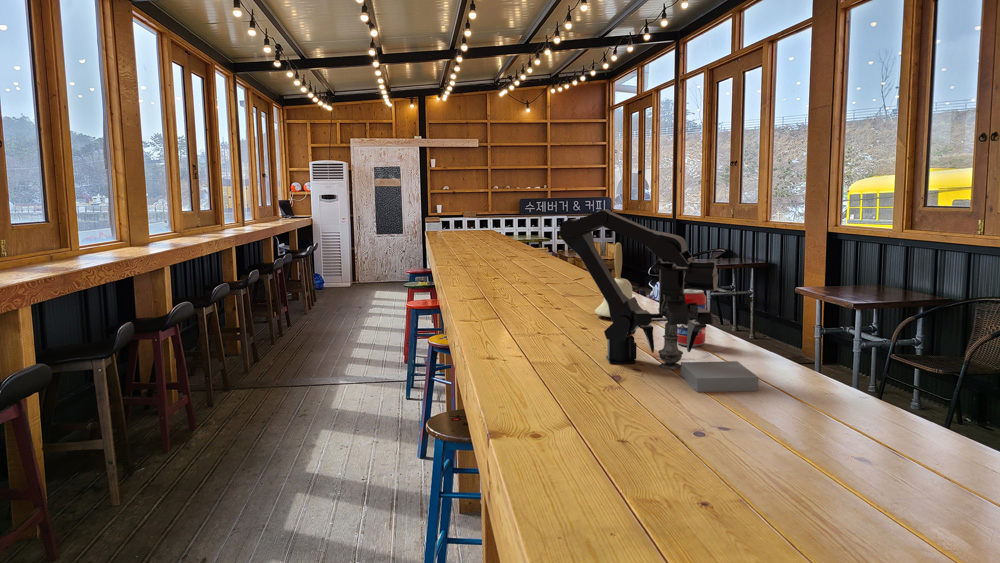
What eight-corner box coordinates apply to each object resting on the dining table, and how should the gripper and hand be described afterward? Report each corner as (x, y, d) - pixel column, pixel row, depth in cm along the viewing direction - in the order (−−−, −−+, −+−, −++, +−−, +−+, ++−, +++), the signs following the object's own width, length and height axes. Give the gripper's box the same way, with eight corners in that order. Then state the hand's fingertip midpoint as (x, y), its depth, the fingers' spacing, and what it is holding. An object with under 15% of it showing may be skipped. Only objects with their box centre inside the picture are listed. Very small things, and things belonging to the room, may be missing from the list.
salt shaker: (683, 370, 159) (684, 320, 158) (658, 369, 160) (658, 320, 159) (682, 363, 165) (683, 315, 163) (657, 362, 166) (658, 315, 164)
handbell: (648, 315, 226) (648, 241, 223) (631, 323, 214) (632, 245, 210) (605, 311, 235) (605, 240, 231) (587, 319, 222) (587, 243, 218)
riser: (696, 391, 142) (697, 378, 142) (680, 374, 155) (680, 362, 155) (758, 390, 142) (758, 377, 142) (736, 373, 155) (737, 361, 155)
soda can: (702, 341, 188) (703, 288, 186) (707, 347, 180) (709, 292, 178) (673, 341, 189) (674, 288, 187) (678, 347, 181) (679, 292, 179)
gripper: (639, 294, 152) (638, 361, 154) (721, 293, 152) (719, 360, 154) (630, 287, 163) (629, 349, 165) (706, 285, 163) (705, 348, 165)
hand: (670, 352), depth 162 cm, fingers closed on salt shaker, 8 cm apart
